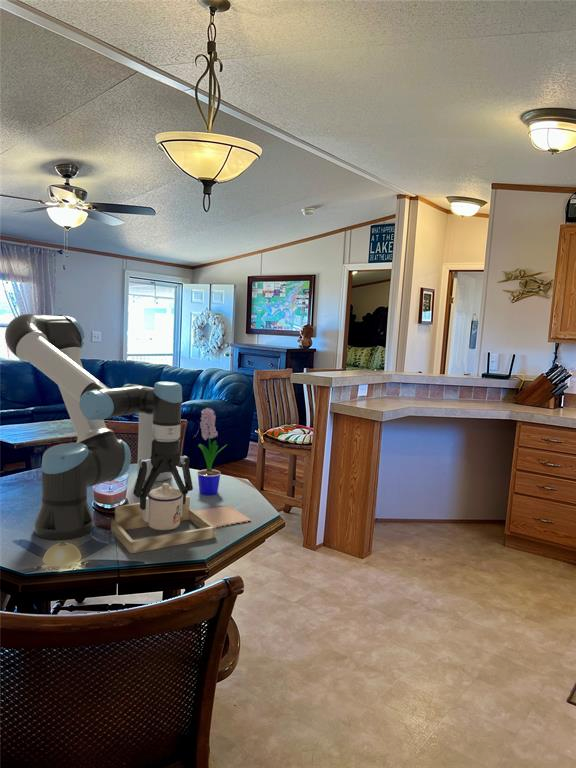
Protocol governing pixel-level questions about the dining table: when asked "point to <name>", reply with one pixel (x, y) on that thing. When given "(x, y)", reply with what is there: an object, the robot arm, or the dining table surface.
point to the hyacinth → (208, 455)
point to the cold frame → (133, 518)
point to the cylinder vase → (147, 445)
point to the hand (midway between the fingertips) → (162, 517)
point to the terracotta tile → (223, 516)
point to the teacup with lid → (164, 507)
